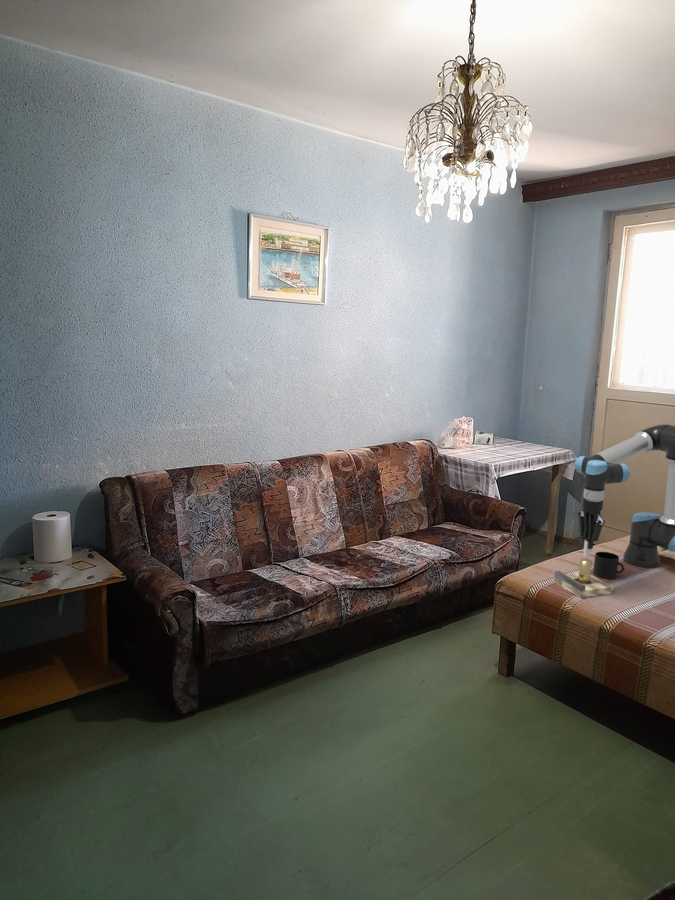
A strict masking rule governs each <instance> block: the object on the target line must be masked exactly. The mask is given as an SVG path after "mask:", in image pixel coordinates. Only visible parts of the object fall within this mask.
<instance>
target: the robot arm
mask: <svg viewBox="0 0 675 900" xmlns="http://www.w3.org/2000/svg"><path fill="white" fill-rule="evenodd" d="M652 451H661V452H665V459H666V460H667V461H668V472H667V479H666V489H665V501H664V509H663V515H662V514H660V513H658V512H657V513H656V512H651V511H649V512H647V511H646V512H645V511H643V512H636V513H634V514H633V515H632V521H631V526H630V535H629V536H630V537H629V543H628V545H627V547H626V549H625V551H624V553H623V555H622V556H623V558H622V560H623V561H624V562H626V563H627V564H630V565H633V566H636V567H641V568H657V567H659V566H660V562H661V559H660V557H659V551H658V547H660V548H663V549H665V550H667V551H669V552H674V553H675V425H671V424H658V425H653V426H650V427H647V428H644V429H643V430H642V429H641V430H640V431H637V432H636V433H635V434H634V436H632V437H630V438H628V439H626V440H623V441H620V442H619V443H617V444H614V445H612V446H611V447H608V448H606V449H603V450H602V451H599V452H597V453H596V454H593V455H591V456H587V455H585V456H584V455H581V456H578V458H576V459H575V461H574V470H575V471H576V472H577V473H578V474H582V475H584V490H583V495H582V496H583V499H582V504H581V505H582V506H581V507H582V511H578V512H577V515H578V519H579V532H580V534H579V535H580V537H581V538H583V554H582V555H583V556H584V557H591V556H592V551H593V550H592V549H594V542H598V541H599V537H600V535H601V533H602V529H603V526H604V525H605V523H606V521H605V520H604V519H602V518H601V517H602V514H601V512H602V510H603V507H604V498H605V488H606V485H607V484H608V485H610V484H620V483H624V482H627V481H628V480H629V478H630V476H631V471H630V467H628V465H626V464H625V463H622V462H625V461H626V460H628V459H629V460H630V459H631V458H633V457H635V456H638V455H639V454H642V453H650V452H652Z"/></svg>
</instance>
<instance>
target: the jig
mask: <svg viewBox="0 0 675 900" xmlns="http://www.w3.org/2000/svg"><path fill="white" fill-rule="evenodd" d="M578 574H579V572H576V573H567V574H566V573H563V572H562V571H560V570H555V571H554V577H553V583H554V582H555V583H556V584H555V583H554V584H555V585H557V584H558V585H557V586H559V587H560V586H561V588H562V587H563V588H562V589H564V590H565V589H566V591H567V590H568V591H567V592H569V591H570V592H571V594H572V593H573V594H572V595H574V594H575V595H576V596H575V595H574V596H575V597H577V596H578V597H577V598H579V599H585V597H586V598H591V597H590V596H594V597H599V596H598V595H601V596H607V595H613V592H614V586H613V585H610V584H609V583H607V582H605V581H603V580H601V578H599V577H598V578H597V576H595V575H592V574H590V581H589V584H586V585H583V584H581V583H580V582H578ZM570 592H569V593H570Z"/></svg>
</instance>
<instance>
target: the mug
mask: <svg viewBox="0 0 675 900" xmlns="http://www.w3.org/2000/svg"><path fill="white" fill-rule="evenodd" d="M619 561H620V557H619V555H617V554H615V553H612V552H609V551H596V552H595V555H594V561H593V571H592V573H593V576H594V577H596V578H597V577H598V578H599V579H603V580H604V579H605V580H615V579H616V578H617V576H618V574H621V573H624V571H625V566H624V564H623V563H621V562H619ZM619 566H620V567H621V570H618V569H619Z"/></svg>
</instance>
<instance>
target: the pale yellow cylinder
mask: <svg viewBox="0 0 675 900" xmlns="http://www.w3.org/2000/svg"><path fill="white" fill-rule="evenodd" d="M592 562H593V561H592V559H589V558H580V560H579V567H578V573H579V574H578V582H580V583H581V584H583V585H586V584H589V581H590V575H591V570H592V564H593V563H592Z"/></svg>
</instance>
